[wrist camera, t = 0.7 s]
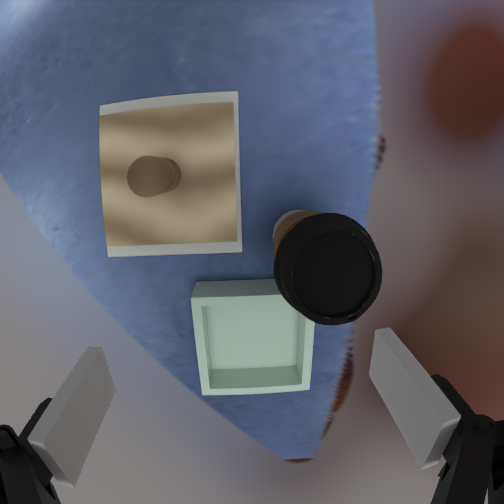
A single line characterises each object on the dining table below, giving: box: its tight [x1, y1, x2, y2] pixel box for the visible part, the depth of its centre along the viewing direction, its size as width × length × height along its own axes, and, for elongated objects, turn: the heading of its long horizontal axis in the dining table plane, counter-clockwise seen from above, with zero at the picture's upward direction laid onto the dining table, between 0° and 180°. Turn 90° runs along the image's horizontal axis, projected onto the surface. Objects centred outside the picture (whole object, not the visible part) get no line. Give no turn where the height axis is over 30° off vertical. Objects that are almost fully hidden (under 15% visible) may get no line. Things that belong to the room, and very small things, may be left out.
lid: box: [99, 102, 237, 247], centre depth 30 cm, size 15×15×8 cm
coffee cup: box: [273, 210, 382, 325], centre depth 29 cm, size 8×8×15 cm
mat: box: [100, 91, 242, 257], centre depth 34 cm, size 18×16×1 cm
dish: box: [191, 279, 315, 395], centre depth 37 cm, size 13×13×5 cm
